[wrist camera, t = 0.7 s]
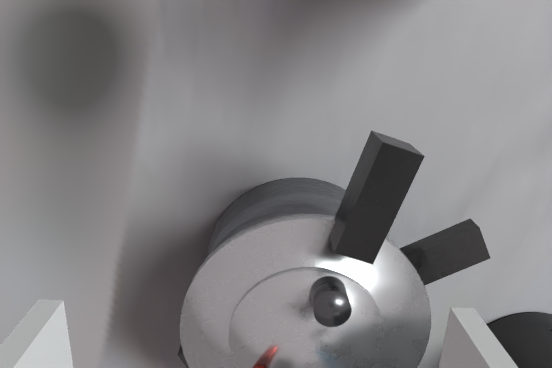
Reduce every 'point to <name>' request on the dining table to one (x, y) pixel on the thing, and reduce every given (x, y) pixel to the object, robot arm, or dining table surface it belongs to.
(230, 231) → the pot
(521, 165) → the dining table surface
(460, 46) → the dining table surface
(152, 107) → the dining table surface
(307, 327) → the lid
